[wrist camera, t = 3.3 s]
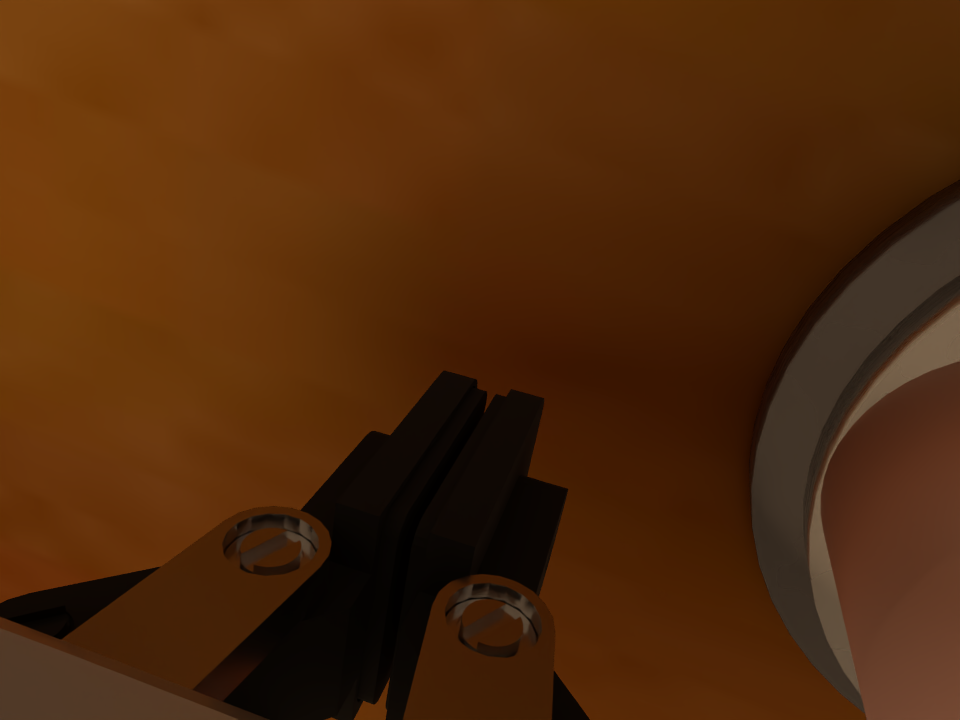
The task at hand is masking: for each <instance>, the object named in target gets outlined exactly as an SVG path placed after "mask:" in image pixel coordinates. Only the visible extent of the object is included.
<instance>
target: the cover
mask: <svg viewBox="0 0 960 720" xmlns="http://www.w3.org/2000/svg"><path fill="white" fill-rule="evenodd" d="M820 514H821V520H822V527H823V532H824V537H825V541H826V545H827V550H828V554H829V558H830V563H831V567H832V571H833V576H834V580H835V584H836V589H837V593H838V597H839V602H840V606H841V610H842V615H843V619H844V623H845V628H846V632H847V636H848V641H849V645H850V649H851V654H852V658H853V662H854V667H855V671H856V675H857V680H858V684H859V688H860V693H861V697H862V701H863V706H864V710H865V714H866V719H867V720H960V361H959V362H955V363H952V364H949V365H946V366H943V367H941V368H938V369H935V370H932V371H929V372H927V373H925V374H923V375H921V376H919V377H917V378H915V379H913V380H910V381H908V382H906V383H905V384H903V385H901V386H900V387H898V388H897V389H895V390H893V391H892V392H890V393H889V394H887V395H885V396H884V397H883V398H882V399H880V400H879V401H878V402H877V403H875V404H874V405H873V406H872V407H870V408H869V409H868V410H867V411H866V412H865V413H864V414H863V415H862V416H861V417H860V418H859V419H858V420H857V421H856V422H855V423H854V424H853V425H852V426H851V428H850V429H849V430H848V432H847V433H846V434H845V436H844V437H843V439H842V440H841V441H840V442H839V444H838V446H837V448H836V450H835V452H834V453H833V455H832V457H831V459H830V461H829V464H828V467H827V470H826V473H825V476H824V480H823V486H822V491H821V509H820Z"/></svg>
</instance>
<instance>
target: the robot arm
mask: <svg viewBox="0 0 960 720" xmlns="http://www.w3.org/2000/svg"><path fill="white" fill-rule="evenodd" d="M486 399H487V391H483V390H480V389H477V380H476V379H473V378H469V377H466V376H462V375H458V374H455V373H451V372H448V371H443V372H442V373H441V374H440V375H439V377H438V378H437V379H436V380H435V381H434V383H433V384H432V385H431V386H430V388H429V389H428V390H427V391H426V392H425V394H424V395H423V396H422V397H421V399H420V400H419V401H418V402H417V404H416V405H415V406H414V407H413V408H412V410H411V411H410V412H409V413H408V415H407V416H406V417H405V418H404V419H403V421H402V422H401V423H400V424H399V426H398V427H397V428H396V429H395V430H394V432H393V433H392V434H391V435H387V434H383V433H380V432H377V431H371V432H370V433H369V434H367V435H366V436H365V438H364V439H363V440H362V441H361V442H360V443H359V444H358V446H357V447H356V448H355V449H354V450H353V451H352V452H351V453H350V455H349V456H348V457H347V458H346V459H345V460H344V461H343V463H342V464H341V465H340V466H339V467H338V468H337V469H336V471H335V472H334V473H333V474H332V475H331V476H330V477H329V479H328V480H327V481H326V482H325V483H324V484H323V485H322V486H321V488H320V489H319V490H318V491H317V492H316V493H315V494H314V496H313V497H312V498H311V499H310V500H309V501H308V502H307V504H306V505H305V506H304V507H303V508H302V509H301V510H296V509H293V508H288V507H278V506H269V507H257V508H253V509H249V510H246V511H242V512H239V513H237V514H235V515H233V516H232V517H230V518H228V519H226V520H224V521H223V522H222V523H220V524H219V525H218V526H216V527H215V528H213V529H212V530H211V531H209V532H208V533H207V534H205V535H204V536H202V537H201V538H200V539H198V540H197V541H196V542H194V543H193V544H192V545H190V546H189V547H187V548H186V549H185V550H183V551H182V552H181V553H179V554H178V555H176V556H175V557H174V558H172V559H171V560H170V561H168V562H167V563H165V564H164V565H163V566H161V567H157V568H152V569H147V570H142V571H137V572H132V573H127V574H122V575H117V576H112V577H107V578H102V579H97V580H92V581H87V582H83V583H78V584H73V585H68V586H63V587H58V588H53V589H48V590H43V591H38V592H33V593H29V594H26V595H22V596H19V597H15V598H12V599H9V600H6V601H4V602H2V603H0V720H325V719H328V718H331V717H332V718H335V719H337V720H354V718H355V716H356V714H357V712H358V710H359V708H360V706H361V704H362V702H363V701H366V702H368V703H371V704H376V703H377V701H378V700H379V698H380V696H381V694H382V692H383V690H384V688H385V686H386V684H387V682H388V680H389V678H390V682H389V688H388V694H387V700H386V709H387V715H386V720H590V719H589V718H588V716H587V715H586V714H585V712H584V711H583V710H582V708H581V707H580V705H579V704H578V703H577V701H576V700H575V699H574V697H573V696H572V695H571V693H570V692H569V690H568V689H567V688H566V686H565V685H564V684H563V682H562V681H561V680H560V678H559V677H558V675H557V674H556V673H555V671H554V651H555V627H554V621H553V616H552V615H551V613H550V611H549V609H548V608H547V606H546V604H545V603H544V602H543V601H542V600H541V599H540V598H539V594H540V590H541V587H542V584H543V580H544V577H545V573H546V570H547V566H548V563H549V559H550V556H551V552H552V548H553V545H554V541H555V537H556V534H557V530H558V526H559V523H560V519H561V515H562V511H563V508H564V504H565V500H566V496H567V492H568V489H566V488H563V487H560V486H556V485H553V484H550V483H546V482H543V481H540V480H536V479H533V478H530V477H527V474H528V470H529V466H530V461H531V457H532V453H533V449H534V444H535V440H536V436H537V432H538V427H539V423H540V419H541V415H542V410H543V405H544V398H541V397H537V396H534V395H530V394H526V393H523V392H519V391H516V390H512V389H511V390H510V392H509V393H508V395H507V397H504V396H501V395H497V394H496V395H495V396H494V398H493V400H492V401H491V403H490V405H489V406H488V408H487V410H486V411H485V413H484V410H485V405H486Z"/></svg>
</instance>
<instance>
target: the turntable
mask: <svg viewBox="0 0 960 720" xmlns="http://www.w3.org/2000/svg"><path fill="white" fill-rule="evenodd" d="M959 361H960V275H959V276H958V277H956V278H955V279H953V280H952V281H950V282H949V283H947V284H946V285H944V286H943V287H941V288H940V289H938V290H937V291H936V292H935V293H934V294H932V295H931V296H930V297H929V298H928V299H926V300H925V301H924V302H923V303H922V304H921V305H919V306H918V307H917V308H916V309H915V310H913V311H912V312H911V313H910V314H909V315H908V316H906V317H905V318H904V319H903V320H902V321H900V322H899V323H898V324H897V325H896V326H895V328H894V329H893V330H892V331H891V332H890V333H889V334H888V335H887V336H886V337H885V338H884V339H883V340H882V342H881V343H880V344H879V345H878V346H877V347H876V348H875V349H874V350H873V351H872V352H871V353H870V354H869V356H868V357H867V358H866V359H865V360H864V362H863V363H862V365H861V366H860V367H859V369H858V370H857V372H856V373H855V374H854V376H853V377H852V379H851V380H850V381H849V383H848V384H847V386H846V387H845V388H844V390H843V391H842V393H841V394H840V396H839V398H838V400H837V402H836V404H835V406H834V407H833V409H832V411H831V413H830V415H829V417H828V419H827V421H826V423H825V425H824V427H823V429H822V431H821V434H820V437H819V440H818V442H817V445H816V448H815V451H814V454H813V457H812V460H811V463H810V466H809V471H808V477H807V483H806V489H805V495H804V501H803V538H804V544H805V550H806V557H807V563H808V569H809V574H810V580H811V585H812V590H813V596H814V601H815V606H816V609H817V612H818V615H819V618H820V621H821V624H822V627H823V630H824V633H825V636H826V639H827V641H828V643H829V645H830V647H831V649H832V651H833V652H834V654H835V656H836V658H837V660H838V662H839V664H840V666H841V668H842V669H843V671H844V673H845V674H846V675H847V677H848V678H849V680H850V681H851V682H852V684H853V685H854V686H855V688H856V689H857V691H858V692H859V693H860V688H859V684H858V680H857V675H856V671H855V667H854V662H853V658H852V654H851V649H850V645H849V641H848V636H847V632H846V628H845V623H844V619H843V615H842V610H841V606H840V602H839V597H838V593H837V589H836V584H835V580H834V576H833V571H832V567H831V563H830V558H829V554H828V550H827V545H826V541H825V537H824V532H823V527H822V520H821V514H820V509H821V491H822V486H823V480H824V476H825V473H826V470H827V467H828V464H829V461H830V459H831V457H832V455H833V453H834V452H835V450H836V448H837V446H838V444H839V442H840V441H841V440H842V439H843V437H844V436H845V434H846V433H847V432H848V430H849V429H850V428H851V426H852V425H853V424H854V423H855V422H856V421H857V420H858V419H859V418H860V417H861V416H862V415H863V414H864V413H865V412H866V411H867V410H868V409H869V408H870V407H872V406H873V405H874V404H875V403H877V402H878V401H879V400H880V399H882V398H883V397H884V396H885V395H887V394H889V393H890V392H892V391H893V390H895V389H897V388H898V387H900V386H901V385H903V384H905V383H906V382H908V381H910V380H913V379H915V378H917V377H919V376H921V375H923V374H925V373H927V372H929V371H932V370H935V369H938V368H941V367H943V366H946V365H949V364H952V363H955V362H959ZM860 695H861V693H860Z"/></svg>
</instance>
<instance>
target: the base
mask: <svg viewBox="0 0 960 720" xmlns="http://www.w3.org/2000/svg"><path fill="white" fill-rule="evenodd" d="M959 275H960V180H959V181H957V182H955V183H954V184H952V185H950V186H948V187H947V188H945V189H943V190H942V191H940V192H938V193H936V194H935V195H933V196H931V197H929V198H928V199H927V200H925V201H924V202H923V203H921V204H920V205H918V206H917V207H916V208H914V209H913V210H912V211H910V212H909V213H908V214H906V215H905V216H903V217H902V218H901V219H899V220H898V221H897V222H895V223H894V224H893V225H891V226H890V227H889V228H887V229H886V230H884V231H883V232H882V233H881V234H880V235H878V236H877V237H876V238H875V239H874V240H873V241H872V242H871V243H870V244H869V245H868V246H867V247H865V248H864V249H863V250H862V251H861V252H860V253H859V254H858V255H857V256H856V257H855V258H854V259H853V260H851V261H850V262H849V263H848V264H847V265H846V266H845V267H844V268H843V269H842V270H841V271H840V272H839V273H838V274H837V276H836V277H835V278H834V279H833V280H832V282H831V283H830V284H829V285H828V286H827V287H826V289H825V290H824V291H823V292H822V293H821V295H820V296H819V297H818V298H817V299H816V300H815V302H814V303H813V304H812V305H811V306H810V308H809V309H808V311H807V312H806V314H805V315H804V317H803V318H802V320H801V321H800V323H799V324H798V326H797V328H796V329H795V331H794V332H793V334H792V335H791V337H790V338H789V340H788V341H787V343H786V345H785V346H784V348H783V350H782V352H781V354H780V357H779V359H778V361H777V363H776V365H775V367H774V369H773V372H772V374H771V376H770V378H769V380H768V382H767V385H766V387H765V390H764V394H763V397H762V400H761V404H760V407H759V411H758V414H757V417H756V421H755V424H754V430H753V438H752V445H751V453H750V460H749V478H750V505H751V517H752V529H753V534H754V539H755V545H756V550H757V555H758V561H759V566H760V569H761V572H762V574H763V577H764V580H765V583H766V585H767V588H768V591H769V594H770V597H771V599H772V602H773V604H774V605H775V607H776V609H777V611H778V613H779V615H780V617H781V618H782V620H783V622H784V624H785V626H786V628H787V630H788V631H789V633H790V635H791V636H792V637H793V639H794V640H795V642H796V643H797V644H798V646H799V647H800V648H801V650H802V651H803V652H804V654H805V655H806V656H807V658H808V659H809V660H810V662H811V663H812V665H813V666H814V667H815V668H816V669H817V670H818V671H819V672H820V673H821V674H822V675H823V676H824V677H825V678H826V679H827V680H828V681H829V682H830V683H831V684H832V685H833V686H834V687H835V688H836V689H837V691H838V692H839V693H840V694H842V695H843V696H844V697H845V698H846V699H848V700H849V701H850V702H851V703H853V704H854V705H855V706H856V707H858V708H859V709H860V710H861V711H862V712H864V713H865V710H864V706H863V701H862V697H861V695H860V693H859V692H858V691H857V689H856V688H855V686H854V685H853V684H852V682H851V681H850V680H849V678H848V677H847V675H846V674H845V673H844V671H843V669H842V668H841V666H840V664H839V662H838V660H837V658H836V656H835V654H834V652H833V651H832V649H831V647H830V645H829V643H828V641H827V639H826V636H825V633H824V630H823V627H822V624H821V621H820V618H819V615H818V612H817V609H816V606H815V601H814V596H813V590H812V585H811V580H810V574H809V569H808V563H807V557H806V550H805V544H804V538H803V501H804V495H805V489H806V483H807V477H808V471H809V466H810V463H811V460H812V457H813V454H814V451H815V448H816V445H817V442H818V440H819V437H820V434H821V431H822V429H823V427H824V425H825V423H826V421H827V419H828V417H829V415H830V413H831V411H832V409H833V407H834V406H835V404H836V402H837V400H838V398H839V396H840V394H841V393H842V391H843V390H844V388H845V387H846V386H847V384H848V383H849V381H850V380H851V379H852V377H853V376H854V374H855V373H856V372H857V370H858V369H859V367H860V366H861V365H862V363H863V362H864V360H865V359H866V358H867V357H868V356H869V354H870V353H871V352H872V351H873V350H874V349H875V348H876V347H877V346H878V345H879V344H880V343H881V342H882V340H883V339H884V338H885V337H886V336H887V335H888V334H889V333H890V332H891V331H892V330H893V329H894V328H895V326H896V325H897V324H898V323H899V322H900V321H902V320H903V319H904V318H905V317H906V316H908V315H909V314H910V313H911V312H912V311H913V310H915V309H916V308H917V307H918V306H919V305H921V304H922V303H923V302H924V301H925V300H926V299H928V298H929V297H930V296H931V295H932V294H934V293H935V292H936V291H937V290H938V289H940V288H941V287H943V286H944V285H946V284H947V283H949V282H950V281H952V280H953V279H955V278H956V277H958V276H959Z"/></svg>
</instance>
